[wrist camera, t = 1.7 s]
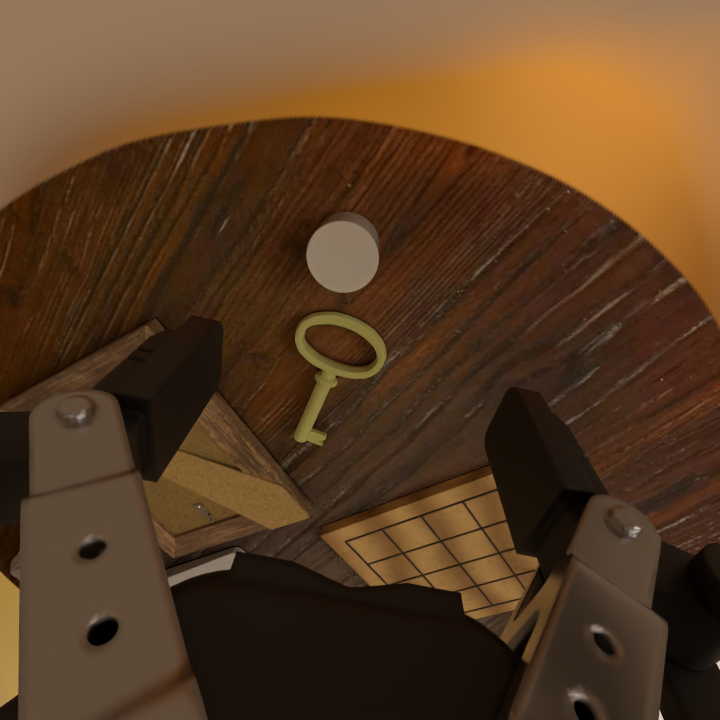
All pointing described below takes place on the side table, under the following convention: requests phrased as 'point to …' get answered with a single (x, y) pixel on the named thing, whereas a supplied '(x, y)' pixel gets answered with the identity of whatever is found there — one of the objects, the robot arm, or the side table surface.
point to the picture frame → (194, 464)
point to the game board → (440, 544)
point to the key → (331, 367)
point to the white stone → (343, 252)
